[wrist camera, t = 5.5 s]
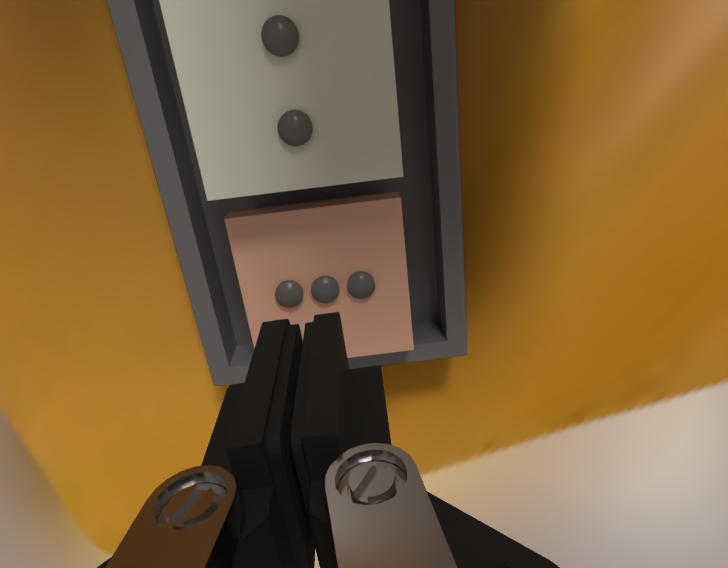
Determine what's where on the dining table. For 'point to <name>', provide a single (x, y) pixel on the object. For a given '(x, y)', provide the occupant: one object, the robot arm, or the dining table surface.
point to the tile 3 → (327, 268)
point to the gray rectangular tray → (417, 187)
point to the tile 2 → (286, 92)
